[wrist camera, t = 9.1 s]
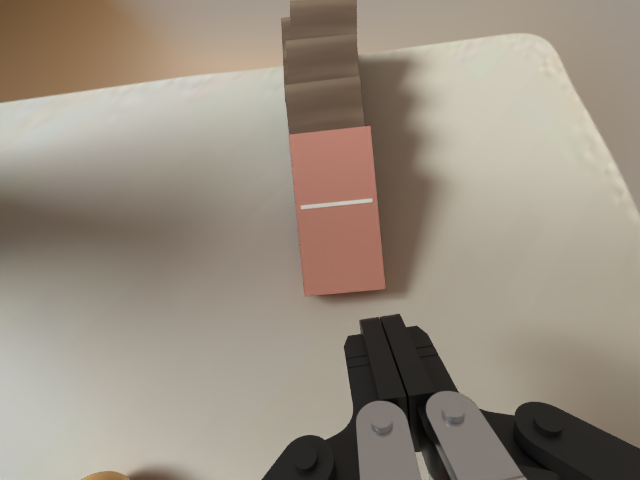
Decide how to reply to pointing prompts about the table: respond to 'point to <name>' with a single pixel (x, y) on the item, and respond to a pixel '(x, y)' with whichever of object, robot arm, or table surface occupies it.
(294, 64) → the domino
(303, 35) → the domino
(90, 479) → the figurine
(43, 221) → the table surface
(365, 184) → the domino
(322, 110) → the domino
